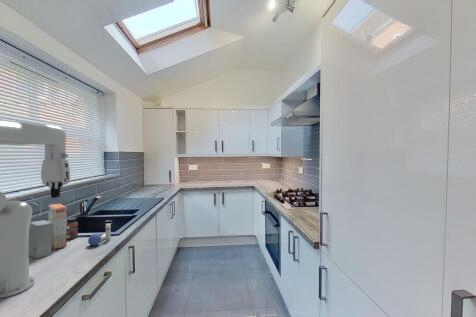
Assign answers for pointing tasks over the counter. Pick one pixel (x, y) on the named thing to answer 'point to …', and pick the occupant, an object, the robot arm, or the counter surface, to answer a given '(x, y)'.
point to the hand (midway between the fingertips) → (55, 197)
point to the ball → (94, 239)
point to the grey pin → (108, 232)
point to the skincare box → (40, 238)
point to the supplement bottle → (71, 229)
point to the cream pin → (103, 236)
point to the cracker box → (58, 225)
